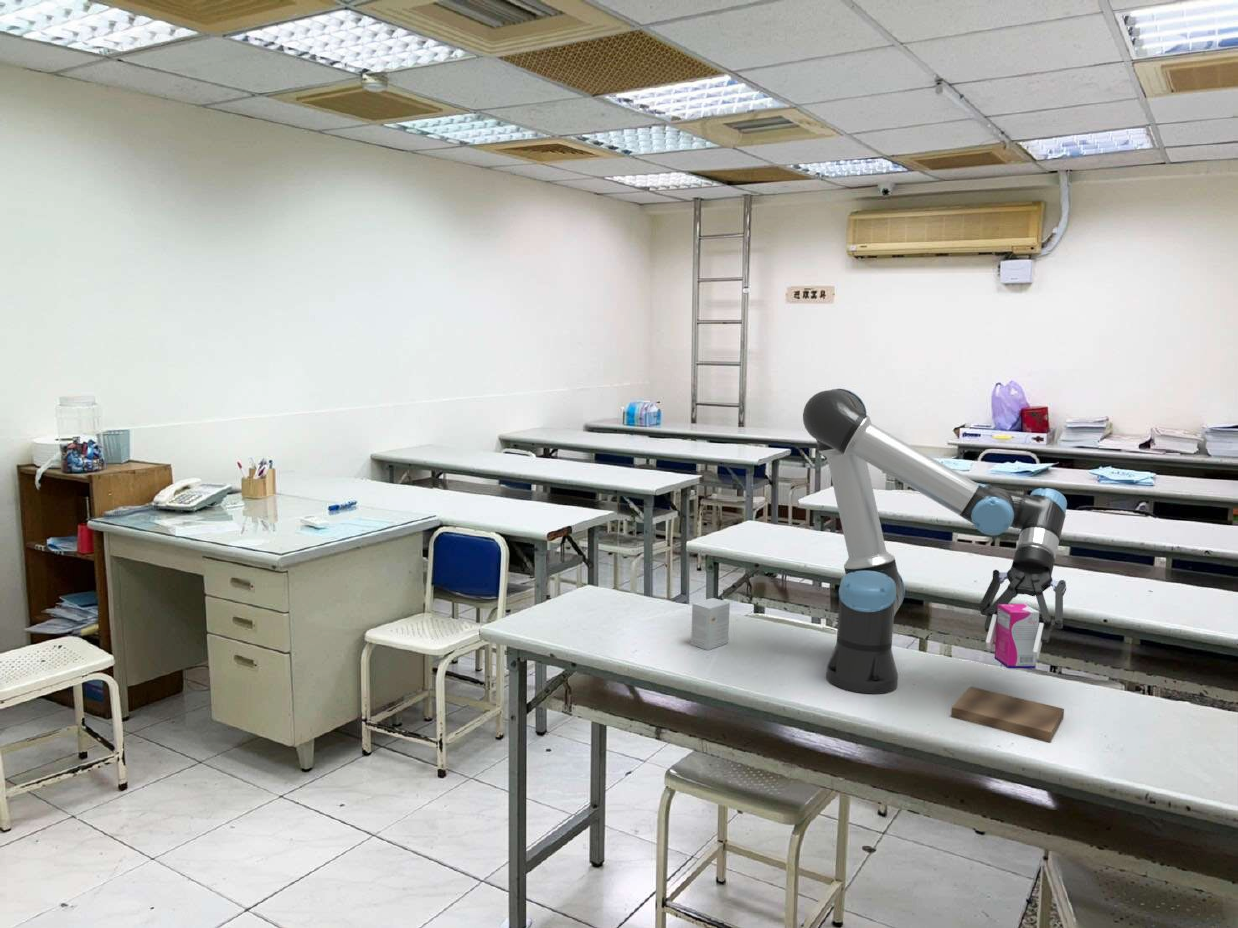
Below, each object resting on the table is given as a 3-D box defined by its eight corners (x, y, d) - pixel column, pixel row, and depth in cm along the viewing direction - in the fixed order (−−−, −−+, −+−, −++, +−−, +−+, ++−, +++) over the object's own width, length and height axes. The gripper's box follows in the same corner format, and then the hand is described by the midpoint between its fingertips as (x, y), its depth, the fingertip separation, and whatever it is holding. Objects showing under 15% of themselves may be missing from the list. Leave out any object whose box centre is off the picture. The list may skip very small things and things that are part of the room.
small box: (711, 637, 215) (712, 597, 214) (728, 643, 211) (730, 602, 210) (690, 644, 210) (691, 603, 208) (707, 650, 206) (709, 608, 204)
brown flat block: (950, 716, 171) (951, 707, 171) (969, 695, 182) (970, 686, 182) (1050, 742, 161) (1051, 732, 160) (1063, 718, 172) (1064, 708, 172)
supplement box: (1021, 658, 173) (1025, 603, 172) (1036, 669, 167) (1041, 612, 166) (992, 658, 173) (997, 602, 171) (1007, 668, 167) (1011, 611, 166)
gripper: (1092, 573, 174) (1072, 672, 163) (984, 557, 186) (959, 648, 175) (1090, 552, 169) (1069, 652, 158) (980, 537, 181) (953, 629, 170)
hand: (1011, 650), depth 167 cm, fingers closed on supplement box, 8 cm apart
